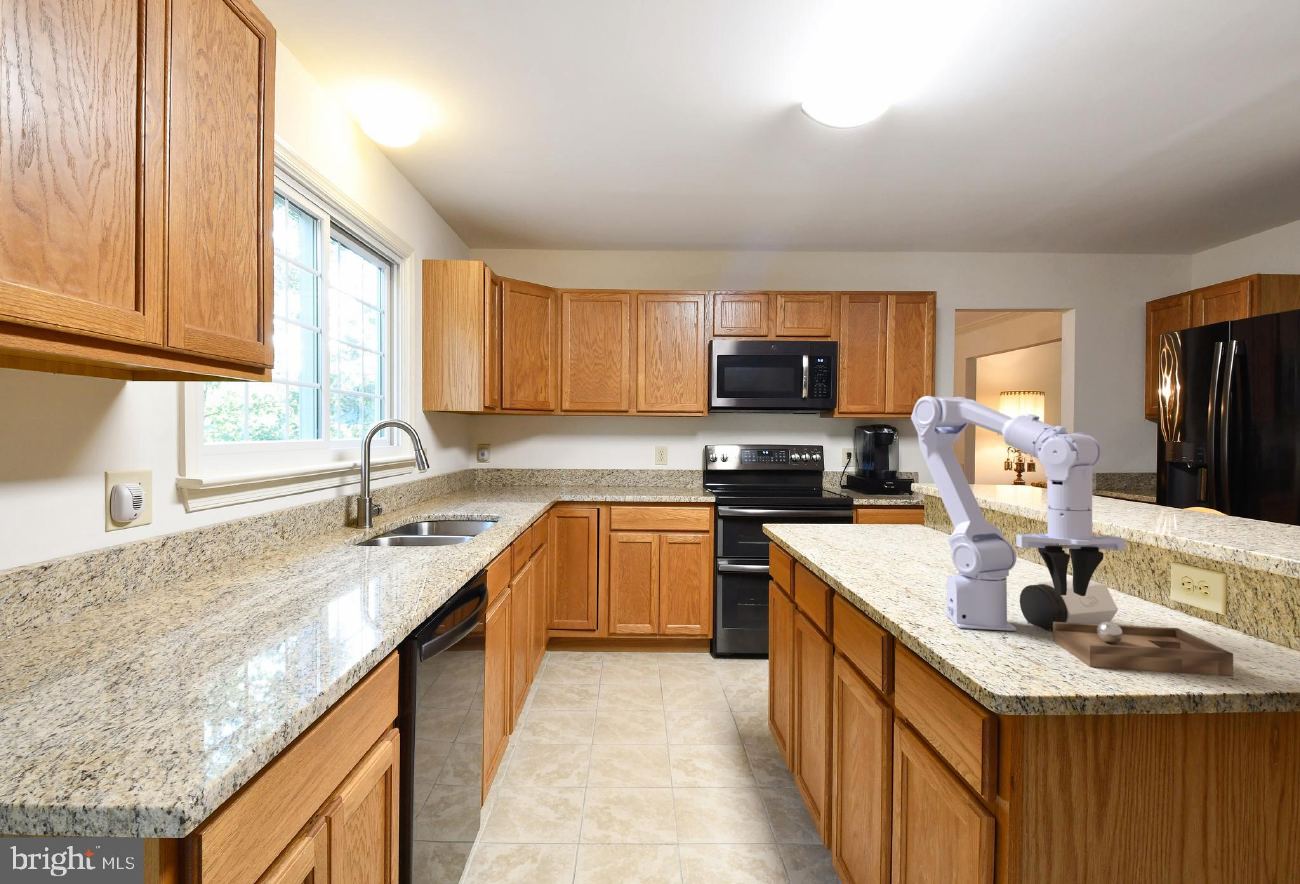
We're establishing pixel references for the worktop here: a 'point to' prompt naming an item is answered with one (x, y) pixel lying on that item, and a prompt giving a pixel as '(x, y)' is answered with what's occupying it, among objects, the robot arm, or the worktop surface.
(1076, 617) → the jar
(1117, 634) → the ball
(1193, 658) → the board
